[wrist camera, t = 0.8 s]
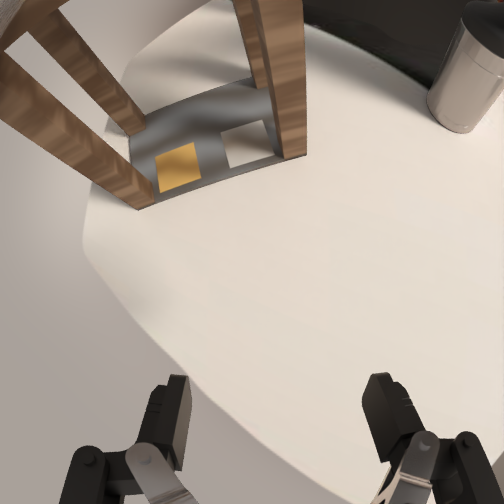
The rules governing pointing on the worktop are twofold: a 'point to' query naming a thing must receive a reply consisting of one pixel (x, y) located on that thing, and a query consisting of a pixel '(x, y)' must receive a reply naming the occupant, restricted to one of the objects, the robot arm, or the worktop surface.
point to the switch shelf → (166, 108)
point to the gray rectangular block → (8, 12)
